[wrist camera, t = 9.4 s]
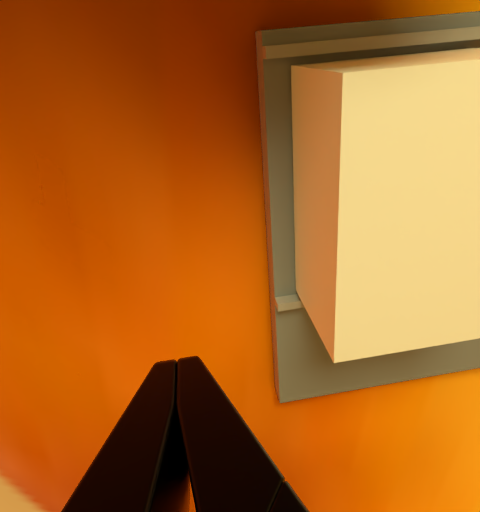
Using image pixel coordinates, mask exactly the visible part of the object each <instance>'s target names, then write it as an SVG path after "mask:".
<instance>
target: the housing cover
mask: <svg viewBox="0 0 480 512" xmlns="http://www.w3.org/2000/svg"><path fill="white" fill-rule="evenodd" d="M291 91H292V138H293V185H294V232H295V278H296V291H297V293H298V295H299V297H300V299H301V301H302V303H303V305H304V307H305V309H306V311H307V313H308V315H309V316H310V318H311V320H312V322H313V324H314V326H315V328H316V330H317V332H318V334H319V336H320V338H321V340H322V341H323V343H324V345H325V347H326V349H327V351H328V353H329V355H330V357H331V359H332V361H333V363H338V362H344V361H350V360H355V359H361V358H367V357H373V356H379V355H385V354H391V353H397V352H402V351H408V350H414V349H420V348H426V347H432V346H438V345H444V344H449V343H455V342H461V341H467V340H473V339H479V338H480V48H466V49H456V50H445V51H435V52H425V53H414V54H404V55H394V56H384V57H373V58H363V59H353V60H342V61H332V62H322V63H311V64H301V65H291Z"/></svg>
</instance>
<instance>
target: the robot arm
mask: <svg viewBox="0 0 480 512" xmlns="http://www.w3.org/2000/svg"><path fill="white" fill-rule="evenodd" d="M190 482H191V487H192V492H193V497H194V502H195V508H196V512H309V511H308V509H307V508H306V507H305V505H304V504H303V503H302V501H301V500H300V499H299V497H298V496H297V494H296V493H295V492H294V490H293V489H292V487H291V486H290V485H289V483H288V482H287V481H285V478H284V476H283V475H282V474H281V472H280V471H279V469H278V468H277V467H276V465H275V464H274V462H273V461H272V459H271V458H270V457H269V455H268V454H267V452H266V451H265V450H264V448H263V447H262V445H261V444H260V442H259V441H258V440H257V438H256V437H255V435H254V434H253V433H252V431H251V430H250V428H249V427H248V425H247V424H246V423H245V421H244V420H243V418H242V417H241V416H240V414H239V413H238V411H237V410H236V408H235V407H234V406H233V404H232V403H231V401H230V400H229V399H228V397H227V396H226V394H225V393H224V391H223V390H222V389H221V387H220V386H219V384H218V383H217V382H216V380H215V379H214V377H213V376H212V375H211V373H210V372H209V370H208V369H207V367H206V366H205V365H204V363H203V362H202V360H201V359H200V358H199V357H198V356H191V357H185V358H180V359H179V360H178V361H176V360H167V361H160V362H157V363H155V364H154V365H153V367H152V368H151V370H150V372H149V373H148V375H147V376H146V378H145V380H144V381H143V383H142V384H141V386H140V388H139V389H138V391H137V392H136V394H135V395H134V397H133V399H132V400H131V402H130V403H129V405H128V407H127V408H126V410H125V411H124V413H123V414H122V416H121V418H120V419H119V421H118V422H117V424H116V426H115V427H114V429H113V430H112V432H111V434H110V435H109V437H108V438H107V440H106V441H105V443H104V445H103V446H102V448H101V449H100V451H99V453H98V454H97V456H96V457H95V459H94V460H93V462H92V464H91V465H90V467H89V468H88V470H87V472H86V473H85V475H84V476H83V478H82V480H81V481H80V483H79V484H78V486H77V487H76V489H75V491H74V492H73V494H72V495H71V497H70V499H69V500H68V502H67V503H66V505H65V506H64V508H63V510H62V511H61V512H189V500H190Z"/></svg>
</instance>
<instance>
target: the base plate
mask: <svg viewBox="0 0 480 512" xmlns="http://www.w3.org/2000/svg"><path fill="white" fill-rule="evenodd" d="M255 36H256V54H257V72H258V90H259V108H260V126H261V144H262V162H263V180H264V198H265V216H266V234H267V252H268V270H269V288H270V307H271V325H272V343H273V361H274V379H275V389H276V392H277V395H278V399H279V402H280V403H284V402H289V401H295V400H301V399H306V398H312V397H317V396H323V395H329V394H334V393H340V392H346V391H351V390H357V389H362V388H368V387H374V386H379V385H385V384H391V383H396V382H402V381H408V380H413V379H419V378H424V377H430V376H436V375H441V374H447V373H453V372H458V371H464V370H470V369H475V368H480V338H479V339H473V340H467V341H461V342H455V343H449V344H444V345H438V346H432V347H426V348H420V349H414V350H408V351H402V352H397V353H391V354H385V355H379V356H373V357H367V358H361V359H355V360H350V361H344V362H338V363H333V361H332V359H331V357H330V355H329V353H328V351H327V349H326V347H325V345H324V343H323V341H322V340H321V338H320V336H319V334H318V332H317V330H316V328H315V326H314V324H313V322H312V320H311V318H310V316H309V315H308V313H307V311H306V309H305V307H304V305H303V303H302V301H301V299H300V297H299V295H298V293H297V291H296V278H295V232H294V185H293V138H292V91H291V65H301V64H311V63H322V62H332V61H342V60H353V59H363V58H373V57H384V56H394V55H404V54H414V53H425V52H435V51H445V50H456V49H466V48H480V11H476V12H465V13H454V14H442V15H431V16H420V17H408V18H397V19H385V20H374V21H363V22H351V23H340V24H328V25H317V26H306V27H294V28H283V29H272V30H261V31H256V32H255Z"/></svg>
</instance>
